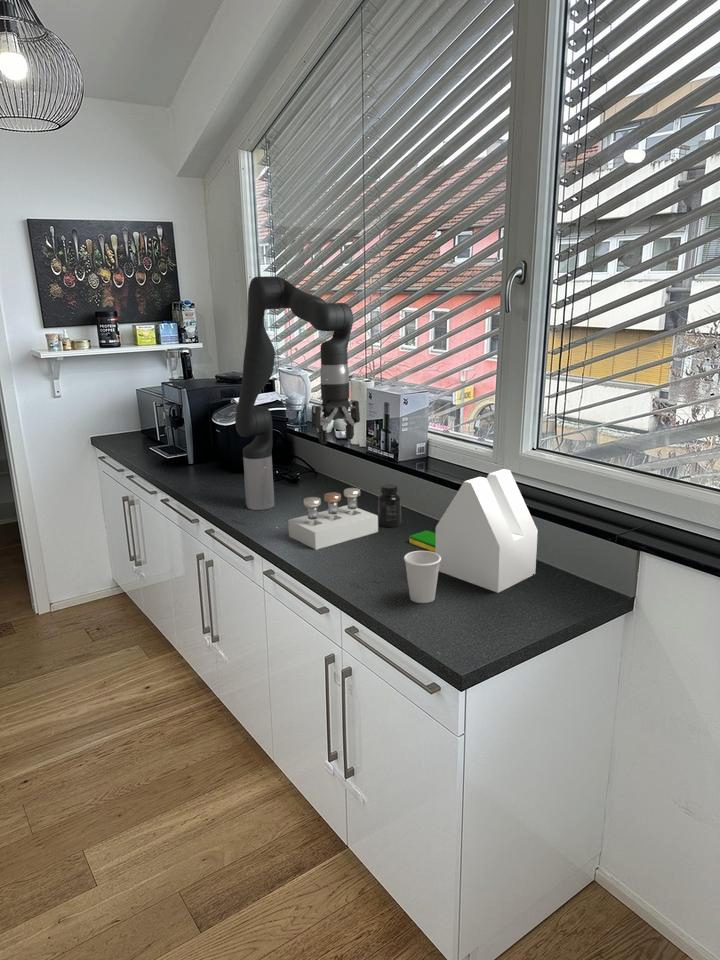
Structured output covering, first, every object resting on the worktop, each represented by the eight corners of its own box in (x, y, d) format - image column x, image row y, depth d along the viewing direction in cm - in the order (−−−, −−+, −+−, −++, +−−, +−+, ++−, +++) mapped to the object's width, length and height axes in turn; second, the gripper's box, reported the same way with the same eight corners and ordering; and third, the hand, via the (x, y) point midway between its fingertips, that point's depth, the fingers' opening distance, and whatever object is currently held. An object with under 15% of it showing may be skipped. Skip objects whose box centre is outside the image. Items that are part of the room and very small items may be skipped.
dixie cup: (419, 586, 160) (419, 547, 158) (447, 597, 155) (448, 556, 152) (396, 598, 155) (396, 557, 152) (425, 609, 149) (425, 567, 146)
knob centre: (321, 512, 196) (320, 494, 194) (335, 509, 198) (334, 491, 197) (331, 516, 192) (330, 498, 190) (344, 513, 195) (344, 494, 193)
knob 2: (341, 507, 200) (340, 489, 198) (354, 504, 202) (353, 487, 201) (350, 511, 196) (350, 493, 195) (363, 508, 199) (363, 490, 197)
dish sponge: (444, 557, 179) (444, 549, 178) (408, 543, 189) (408, 535, 189) (462, 550, 183) (462, 542, 183) (426, 537, 194) (426, 529, 193)
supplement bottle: (404, 522, 206) (404, 484, 203) (396, 529, 200) (395, 490, 197) (383, 519, 209) (383, 482, 205) (374, 526, 203) (374, 488, 199)
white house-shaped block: (435, 570, 170) (436, 474, 163) (473, 553, 180) (475, 463, 173) (498, 593, 157) (501, 490, 150) (535, 574, 167) (540, 476, 160)
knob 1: (301, 517, 192) (300, 499, 190) (315, 514, 194) (314, 496, 193) (310, 521, 188) (309, 503, 186) (324, 518, 191) (324, 499, 189)
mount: (289, 536, 196) (288, 519, 195) (349, 520, 209) (349, 504, 207) (315, 549, 185) (315, 532, 184) (378, 531, 198) (377, 515, 197)
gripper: (348, 377, 185) (349, 435, 189) (304, 382, 176) (307, 443, 181) (364, 379, 179) (366, 439, 183) (320, 385, 171) (322, 447, 175)
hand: (336, 441), depth 182 cm, fingers open, 8 cm apart
